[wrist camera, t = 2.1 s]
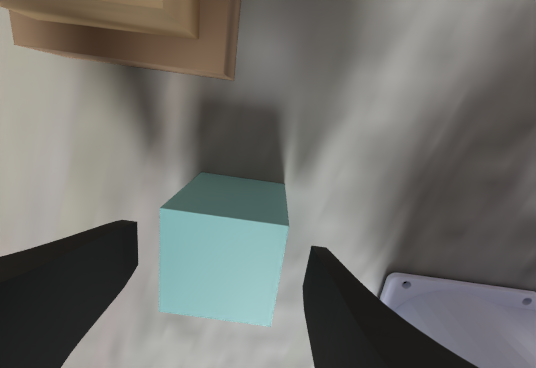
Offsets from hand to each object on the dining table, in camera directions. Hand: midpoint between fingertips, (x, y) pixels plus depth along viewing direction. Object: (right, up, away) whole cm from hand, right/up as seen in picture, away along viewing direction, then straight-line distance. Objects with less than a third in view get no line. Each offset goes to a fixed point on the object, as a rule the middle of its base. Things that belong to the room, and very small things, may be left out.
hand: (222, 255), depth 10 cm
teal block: (0, +1, +4) cm, 4 cm away
